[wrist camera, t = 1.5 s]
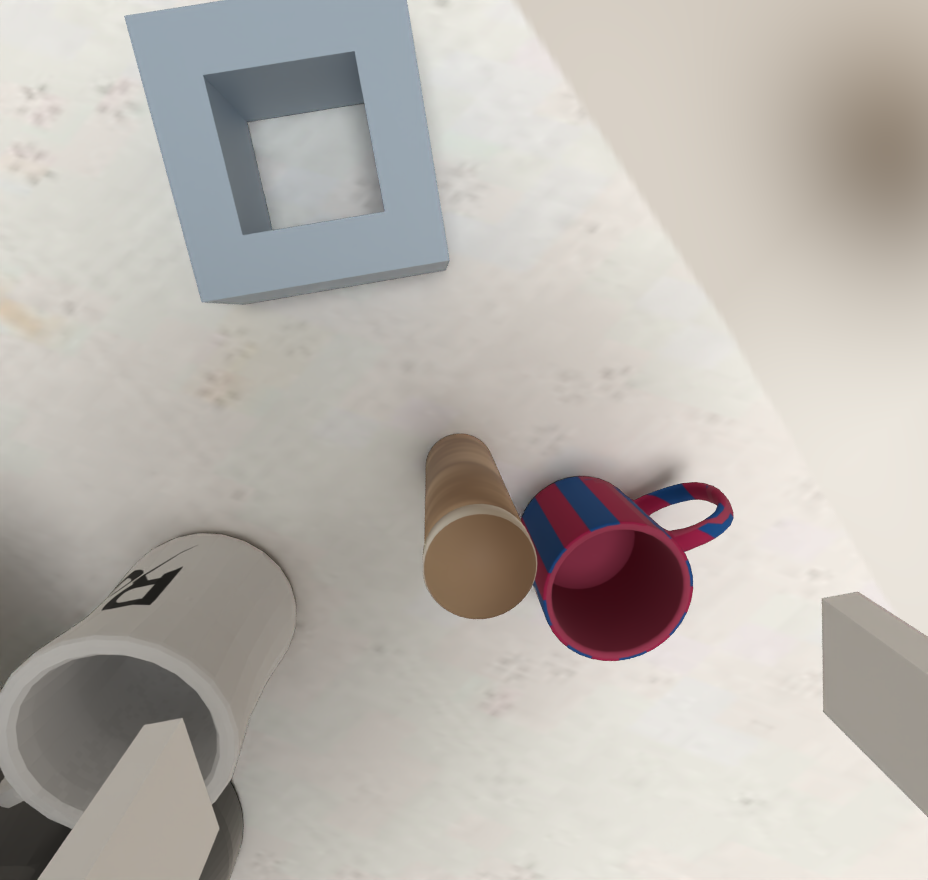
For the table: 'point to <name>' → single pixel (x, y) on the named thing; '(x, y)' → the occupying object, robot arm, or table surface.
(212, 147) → the socket block
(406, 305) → the table surface
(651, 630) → the cup
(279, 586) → the mug
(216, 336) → the table surface
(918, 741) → the robot arm
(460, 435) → the dowel
